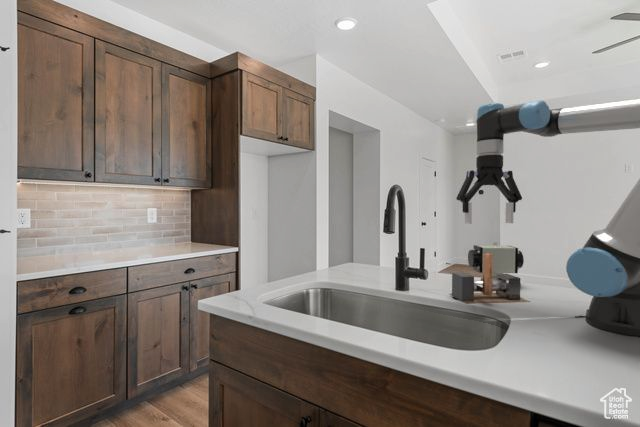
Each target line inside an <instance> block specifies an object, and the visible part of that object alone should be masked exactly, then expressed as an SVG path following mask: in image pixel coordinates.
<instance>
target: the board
mask: <svg viewBox="0 0 640 427" xmlns="http://www.w3.org/2000/svg"><path fill="white" fill-rule="evenodd" d="M449 295H450V296H451V297H453V298H455V297H454V296H452V293H449ZM459 301H461V300H459ZM461 302H462V303H464V304H465V305H467V304H470V305H471V304H500V303H501V304H505V303H531V301H530V300H528V299H525V298H523V297H520V300H507V299H505V298H503V297H500V296H498V295H496V292H492V296H486V295H483V293H482V292H474V301H461Z"/></svg>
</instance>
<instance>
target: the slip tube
mask: <svg viewBox="0 0 640 427" xmlns="http://www.w3.org/2000/svg"><path fill="white" fill-rule="evenodd" d="M482 277H483V281H480V280H474V293H483V295H486V296H492V293H493V292H496V291H506V280H493V254H492V253H483V273H482ZM521 289H522V283H521V282H520V290H521Z"/></svg>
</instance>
